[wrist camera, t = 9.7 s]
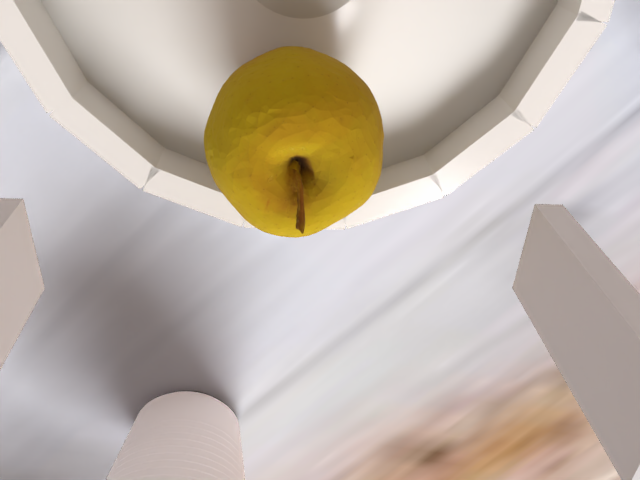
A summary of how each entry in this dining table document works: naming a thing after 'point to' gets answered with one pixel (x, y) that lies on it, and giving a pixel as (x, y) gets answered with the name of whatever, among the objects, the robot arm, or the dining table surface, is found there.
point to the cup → (182, 441)
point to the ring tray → (320, 35)
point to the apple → (294, 141)
